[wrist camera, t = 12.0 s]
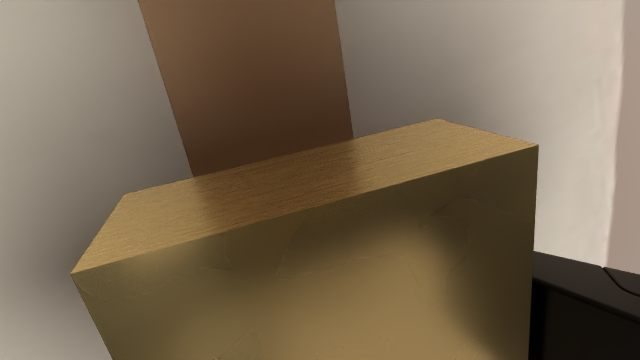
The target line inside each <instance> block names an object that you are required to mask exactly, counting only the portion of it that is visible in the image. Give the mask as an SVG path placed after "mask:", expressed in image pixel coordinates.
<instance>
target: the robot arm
mask: <svg viewBox="0 0 640 360" xmlns="http://www.w3.org/2000/svg"><path fill="white" fill-rule="evenodd" d="M528 360H640V275H639V274H635V273H630V272H625V271H621V270H617V269H612V268H608V267H603V268H602V267H601V266H599V265H594V264H590V263H585V262H581V261H576V260H572V259H567V258H563V257H559V256H554V255H550V254H545V253H541V252H536V251H533V270H532V290H531V310H530V330H529V350H528Z"/></svg>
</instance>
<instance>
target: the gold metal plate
mask: <svg viewBox="0 0 640 360" xmlns="http://www.w3.org/2000/svg"><path fill="white" fill-rule="evenodd" d="M538 149H539V145H537V144H533V143H530V142H526V141H522V140H518V139H514V138H510V137H506V136H502V135H499V134H495V133H491V132H487V131H483V130H479V129H475V128H471V127H467V126H464V125H460V124H456V123H452V122H448V121H444V120H440V119H433V120H429V121H425V122H421V123H417V124H413V125H409V126H404V127H400V128H396V129H392V130H388V131H384V132H380V133H375V134H371V135H367V136H363V137H359V138H355V139H351V140H347V141H342V142H338V143H334V144H330V145H326V146H322V147H318V148H313V149H309V150H305V151H301V152H297V153H293V154H289V155H285V156H280V157H276V158H272V159H268V160H264V161H260V162H256V163H252V164H247V165H243V166H239V167H235V168H231V169H227V170H223V171H218V172H214V173H210V174H206V175H202V176H198V177H194V178H190V179H185V180H181V181H177V182H173V183H169V184H165V185H161V186H156V187H152V188H148V189H144V190H140V191H136V192H132V193H128V194H124V196H123V197H122V199H121V200H120V201H119V203H118V204H117V206H116V207H115V209H114V210H113V212H112V213H111V215H110V216H109V218H108V219H107V221H106V222H105V223H104V225H103V226H102V228H101V229H100V231H99V232H98V234H97V235H96V237H95V238H94V240H93V241H92V243H91V244H90V245H89V247H88V248H87V250H86V251H85V253H84V254H83V256H82V257H81V259H80V260H79V262H78V263H77V265H76V266H75V267H74V269H73V270H72V272H71V273H70V275H71V277H72V279H73V281H74V283H75V285H76V287H77V289H78V291H79V293H80V295H81V297H82V299H83V301H84V303H85V305H86V307H87V309H88V311H89V313H90V315H91V317H92V319H93V321H94V323H95V325H96V327H97V329H98V331H99V333H100V335H101V337H102V339H103V341H104V343H105V345H106V347H107V349H108V351H109V353H110V355H111V357H112V359H113V360H528V350H529V330H530V310H531V290H532V270H533V249H534V229H535V209H536V189H537V169H538Z"/></svg>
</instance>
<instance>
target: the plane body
mask: <svg viewBox="0 0 640 360" xmlns="http://www.w3.org/2000/svg"><path fill="white" fill-rule="evenodd" d="M138 2H139V5H140V9H141V12H142V15H143V18H144V21H145V24H146V28H147V31H148V34H149V37H150V40H151V43H152V47H153V50H154V53H155V56H156V59H157V62H158V66H159V69H160V72H161V75H162V78H163V81H164V85H165V88H166V91H167V94H168V97H169V100H170V104H171V107H172V110H173V113H174V116H175V119H176V123H177V126H178V129H179V132H180V135H181V138H182V142H183V145H184V148H185V151H186V154H187V157H188V161H189V164H190V167H191V170H192V173H193V176H194V177H198V176H202V175H206V174H210V173H214V172H218V171H223V170H227V169H231V168H235V167H239V166H243V165H247V164H252V163H256V162H260V161H264V160H268V159H272V158H276V157H280V156H285V155H289V154H293V153H297V152H301V151H305V150H309V149H313V148H318V147H322V146H326V145H330V144H334V143H338V142H342V141H347V140H351V139H354V138H353V131H352V124H351V117H350V110H349V103H348V96H347V88H346V81H345V74H344V67H343V60H342V53H341V45H340V38H339V31H338V24H337V17H336V10H335V2H334V0H138Z"/></svg>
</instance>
